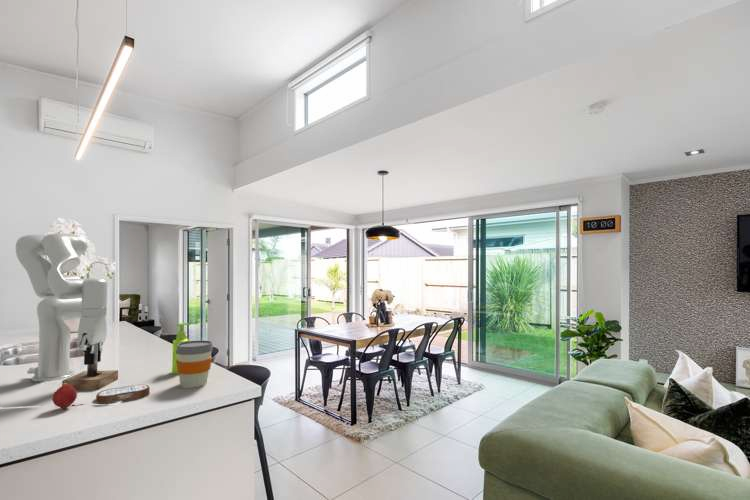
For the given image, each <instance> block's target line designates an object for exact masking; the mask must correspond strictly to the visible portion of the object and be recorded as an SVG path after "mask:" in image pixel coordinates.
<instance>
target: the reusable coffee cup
mask: <svg viewBox="0 0 750 500" xmlns="http://www.w3.org/2000/svg"><path fill="white" fill-rule="evenodd" d="M213 349H214V348H213V342H212V341H211V340H203V339H202V340H200V339H198V340H189V341H188V342H182V343H179V344H177V349H176V353H177V370H178V373H179V374H178V375H179V385H180V387H182V388H187V389H188V388H189V389H193V388H198V387H202V386H204V385H206V384H207V383H208V378H209V377H208V376H209V372H210V369H211V366H212V361H213V360H212V359H213V357H212V352H213Z"/></svg>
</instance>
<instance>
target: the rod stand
mask: <svg viewBox="0 0 750 500" xmlns="http://www.w3.org/2000/svg"><path fill="white" fill-rule="evenodd" d="M118 380H119V370H118V369H117V370H116V369H115V370H97V375H96V376H90V377H88V376H87V370H84V371H81V372H79V373H76V374H75V375H74V374H73V375H72V376H69V377H66V378H64V379H63V380H62V384H63V383H67V384H68V385H70V386H72V387H74V388H75V390H76V391H89V390H90V391H95V390H101V389H104V388H105V387H107V386H109V385H111V384H112V383H114V382H116V381H118ZM62 384H61V385H62Z"/></svg>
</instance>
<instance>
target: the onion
mask: <svg viewBox="0 0 750 500" xmlns="http://www.w3.org/2000/svg"><path fill="white" fill-rule="evenodd" d="M77 397H78V392H77V390H75V388H74V387H72V386H70V385H68V384H67V383H63V384H61V386H60V387H58V389H57V390H55V391H54V393H53V394H52V397H51V400H52V402H53V404H54V405H55V406H57V407H58V408H60V409H61V410H66V409H67V408H69V407H70V406H71V405H73V404H74V403H75V401H76V399H77Z"/></svg>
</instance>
